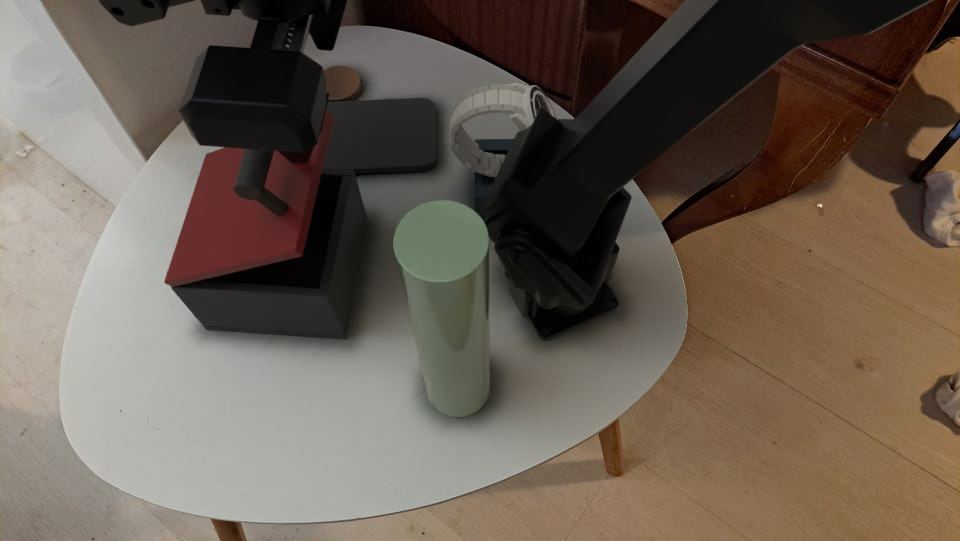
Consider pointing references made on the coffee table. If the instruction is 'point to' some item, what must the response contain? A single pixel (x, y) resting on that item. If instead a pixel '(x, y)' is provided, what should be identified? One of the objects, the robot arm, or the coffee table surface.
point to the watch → (491, 153)
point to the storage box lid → (247, 211)
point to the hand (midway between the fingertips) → (313, 102)
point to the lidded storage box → (294, 275)
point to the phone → (382, 135)
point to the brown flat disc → (342, 83)
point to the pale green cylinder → (448, 301)
